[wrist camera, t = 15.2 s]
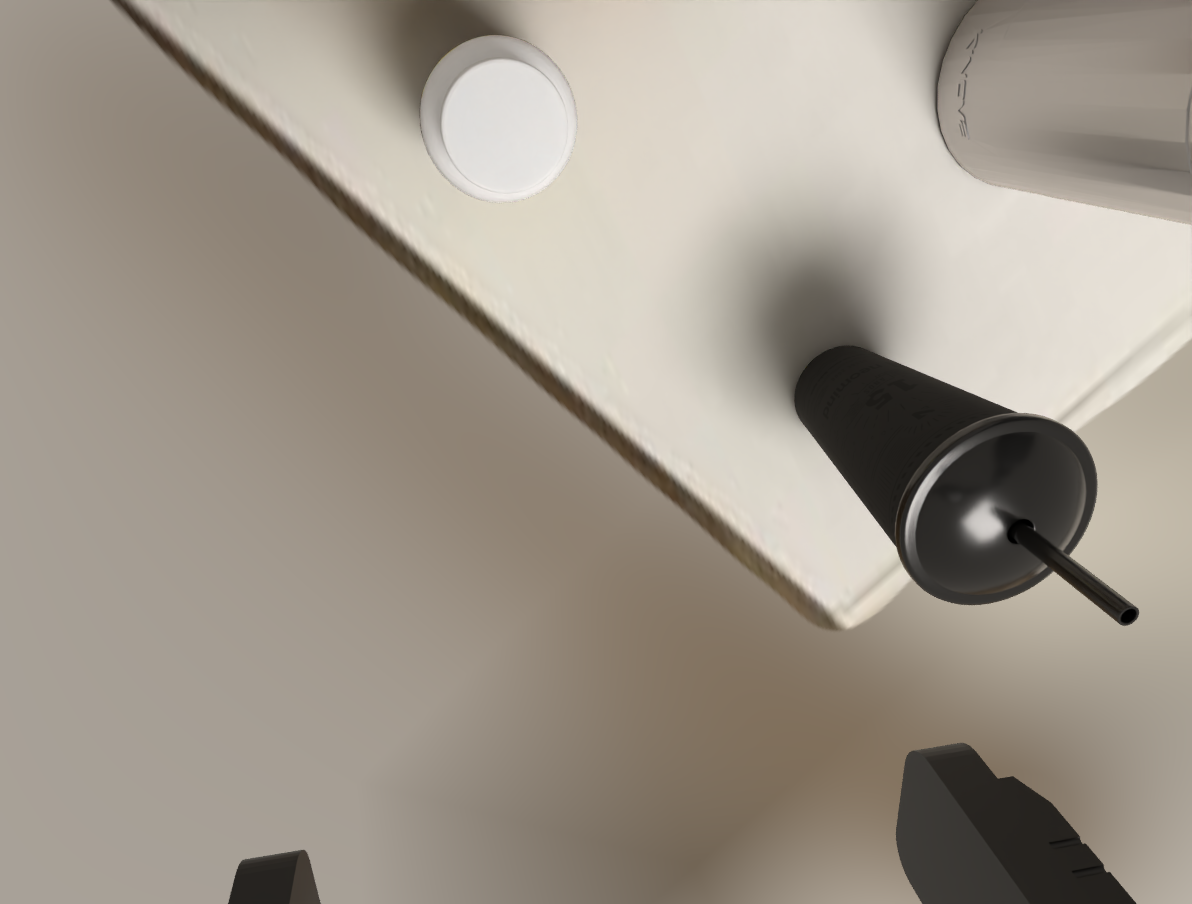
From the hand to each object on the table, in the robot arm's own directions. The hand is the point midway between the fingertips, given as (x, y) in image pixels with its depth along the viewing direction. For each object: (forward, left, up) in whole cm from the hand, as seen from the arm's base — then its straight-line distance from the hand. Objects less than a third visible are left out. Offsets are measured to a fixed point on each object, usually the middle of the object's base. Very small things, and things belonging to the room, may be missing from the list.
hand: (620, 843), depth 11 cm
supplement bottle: (-1, -8, -30) cm, 31 cm away
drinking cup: (-17, +6, -30) cm, 35 cm away
